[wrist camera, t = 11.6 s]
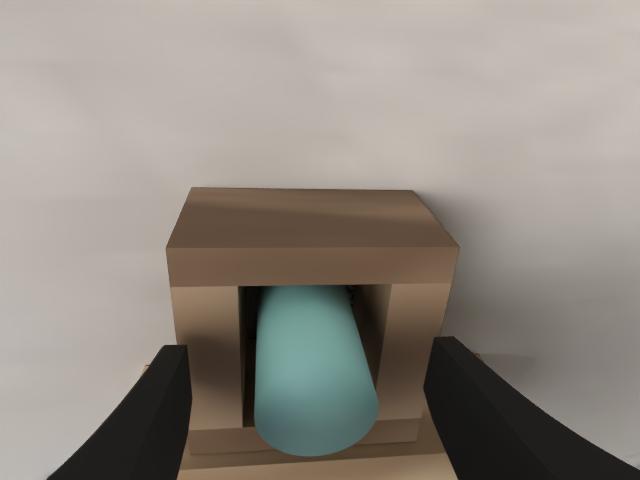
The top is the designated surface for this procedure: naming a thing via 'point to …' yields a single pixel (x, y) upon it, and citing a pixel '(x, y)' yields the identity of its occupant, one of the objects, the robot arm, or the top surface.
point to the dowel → (311, 371)
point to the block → (306, 269)
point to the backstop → (330, 461)
